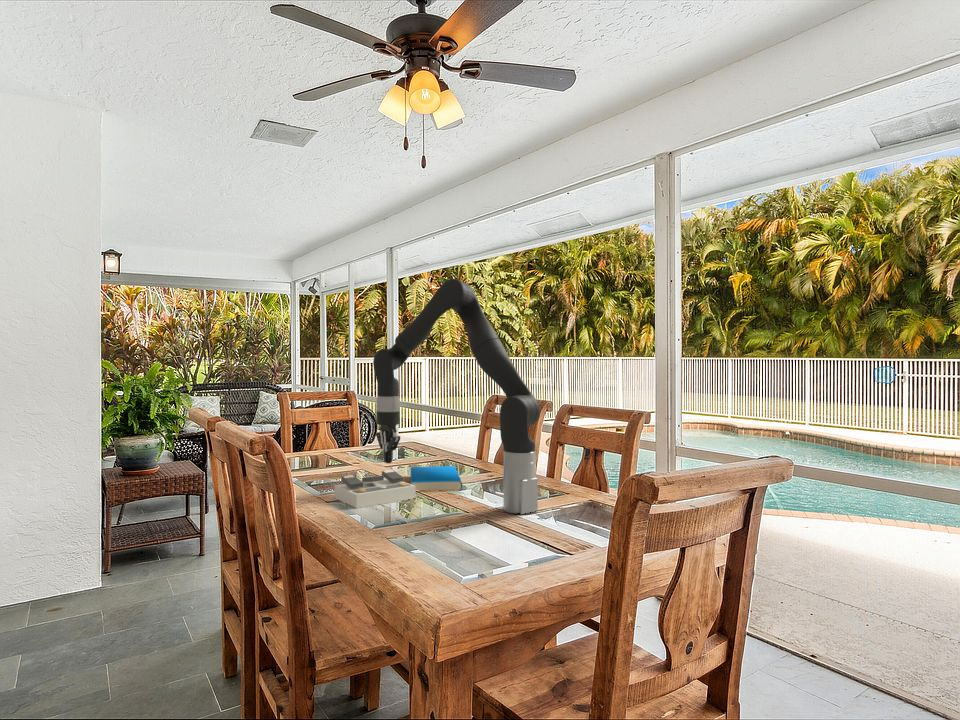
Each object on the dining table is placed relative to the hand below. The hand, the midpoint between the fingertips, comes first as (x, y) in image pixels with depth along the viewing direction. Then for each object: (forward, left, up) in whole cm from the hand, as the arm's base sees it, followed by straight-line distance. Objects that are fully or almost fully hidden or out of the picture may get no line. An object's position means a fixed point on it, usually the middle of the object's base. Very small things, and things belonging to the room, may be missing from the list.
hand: (387, 462), depth 195 cm
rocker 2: (-3, +7, -4) cm, 9 cm away
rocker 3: (-3, 0, -4) cm, 5 cm away
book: (+3, -20, -11) cm, 23 cm away
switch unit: (-5, +7, -10) cm, 13 cm away
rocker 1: (-3, +14, -4) cm, 15 cm away
